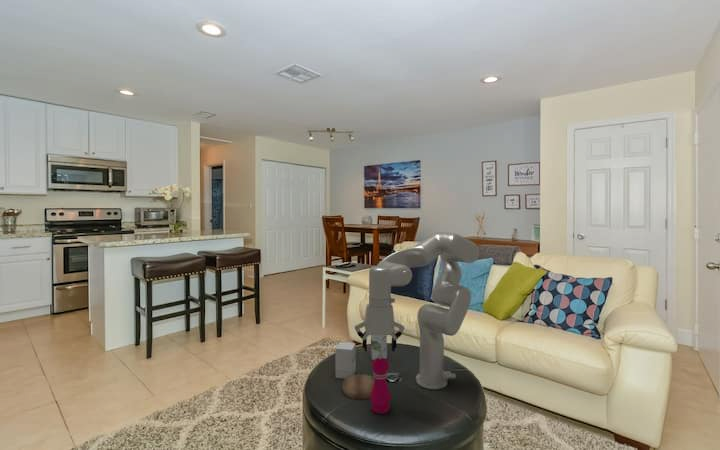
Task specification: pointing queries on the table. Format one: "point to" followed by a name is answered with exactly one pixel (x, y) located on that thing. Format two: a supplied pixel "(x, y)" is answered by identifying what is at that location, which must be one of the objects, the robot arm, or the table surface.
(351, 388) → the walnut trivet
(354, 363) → the supplement box
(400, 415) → the table surface
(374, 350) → the syrup box
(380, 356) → the pepper mill
